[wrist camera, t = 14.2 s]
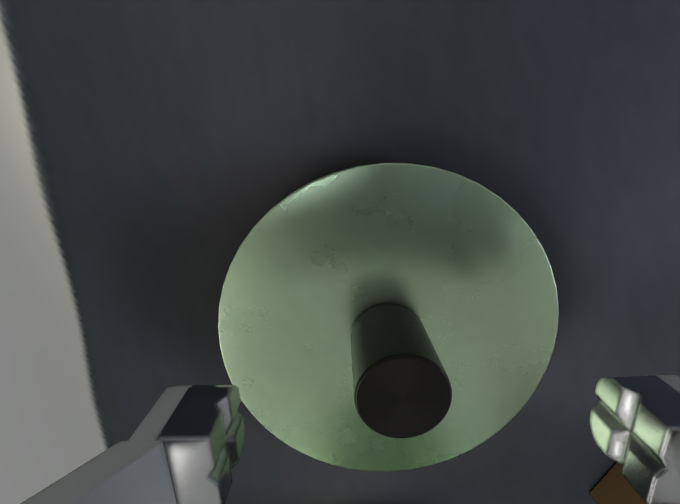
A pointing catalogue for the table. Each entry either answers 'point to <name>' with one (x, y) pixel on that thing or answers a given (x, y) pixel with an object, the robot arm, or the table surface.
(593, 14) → the table surface
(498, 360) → the lid
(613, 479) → the block
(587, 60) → the table surface
